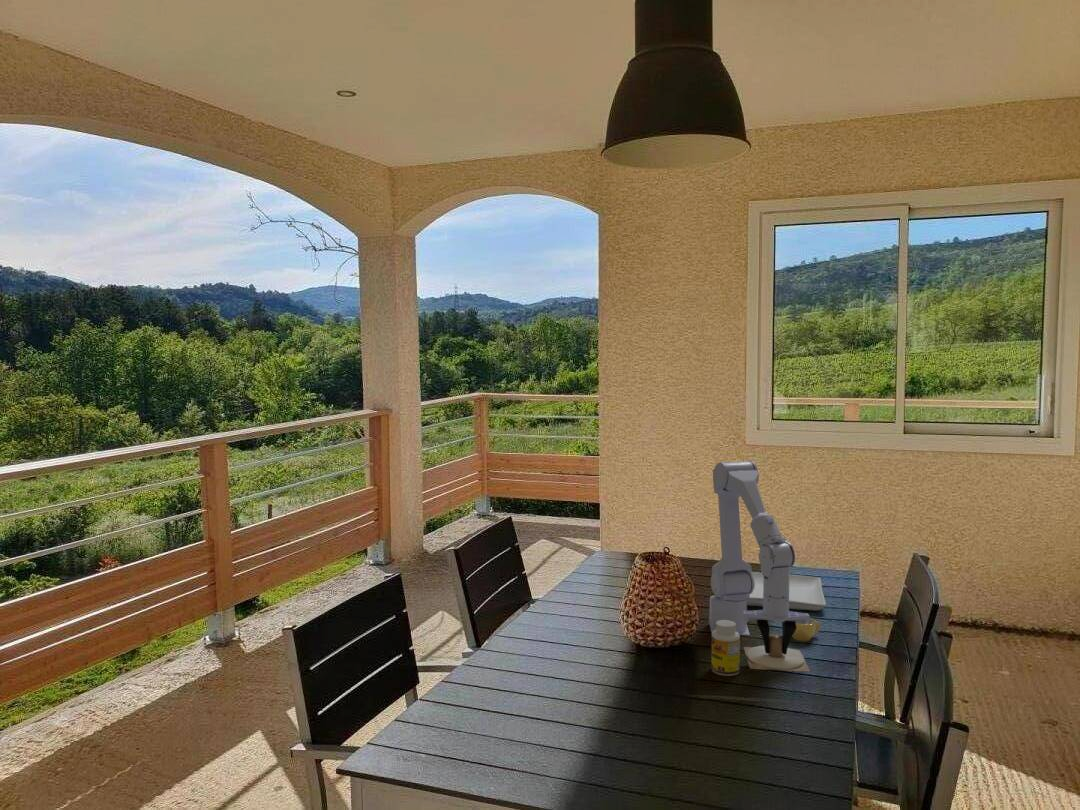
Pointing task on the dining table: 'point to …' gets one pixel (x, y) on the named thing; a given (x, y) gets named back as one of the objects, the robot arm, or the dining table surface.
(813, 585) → the square plate
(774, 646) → the lid
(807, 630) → the cup
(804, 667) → the mat
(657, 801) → the dining table surface
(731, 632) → the supplement bottle
